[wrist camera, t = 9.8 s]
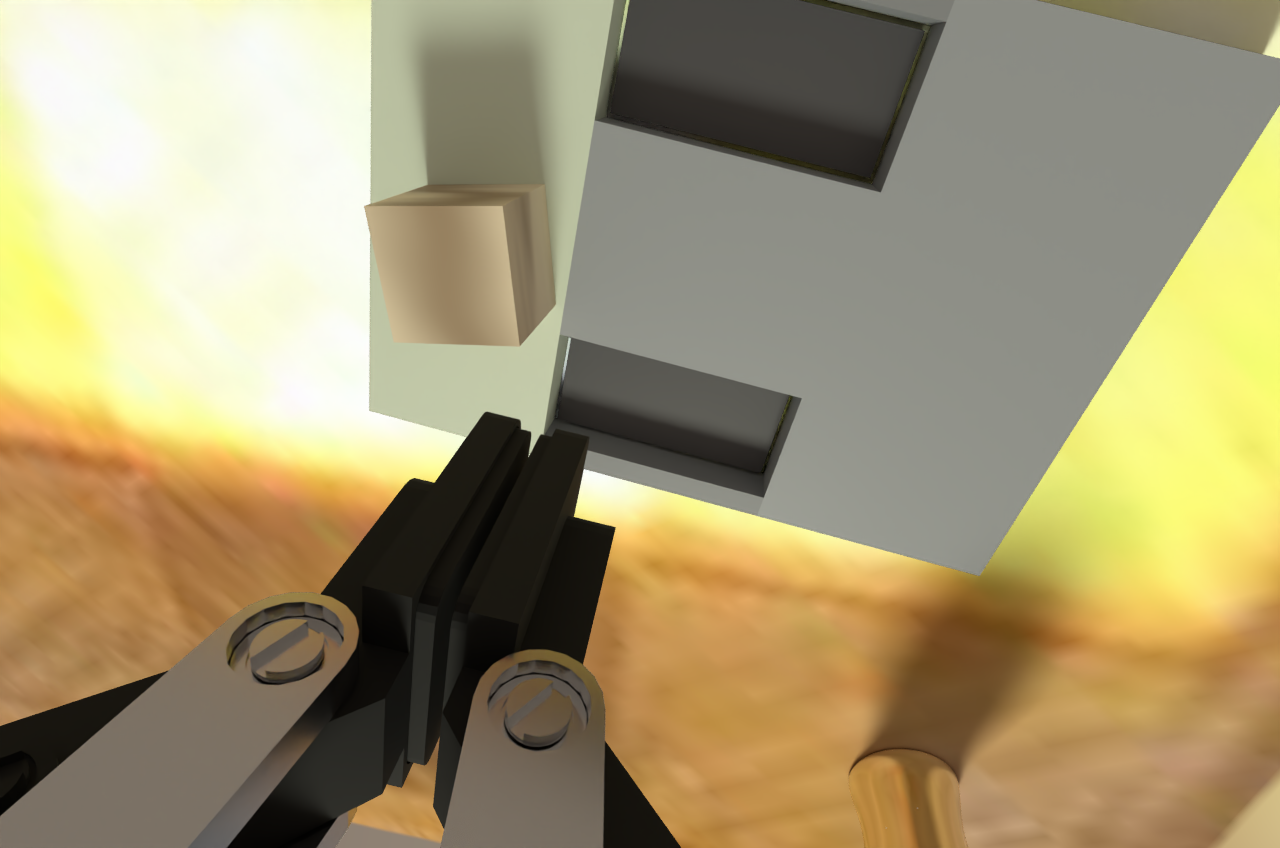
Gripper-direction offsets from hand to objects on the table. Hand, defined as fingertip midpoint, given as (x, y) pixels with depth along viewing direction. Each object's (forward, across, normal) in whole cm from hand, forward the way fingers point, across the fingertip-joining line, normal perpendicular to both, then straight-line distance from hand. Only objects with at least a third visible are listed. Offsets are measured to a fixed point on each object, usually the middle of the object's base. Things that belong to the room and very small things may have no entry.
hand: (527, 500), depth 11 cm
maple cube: (+16, +6, +1) cm, 17 cm away
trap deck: (+18, -4, 0) cm, 18 cm away
